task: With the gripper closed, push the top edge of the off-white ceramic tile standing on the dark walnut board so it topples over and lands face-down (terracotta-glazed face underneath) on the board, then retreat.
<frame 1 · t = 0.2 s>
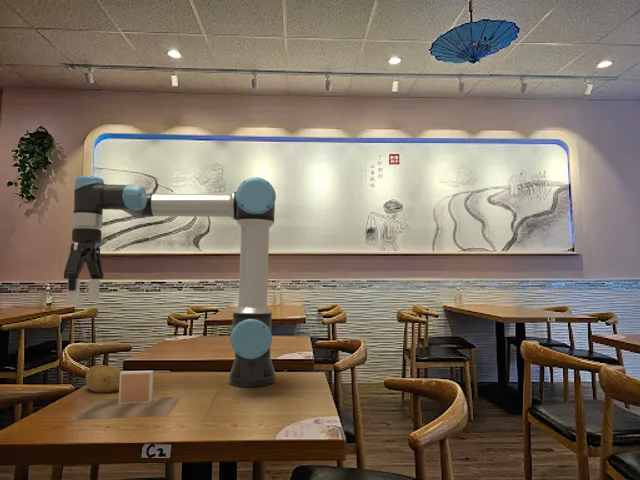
hand: (83, 301, 117), 27 cm above the table, fingers open, 13 cm apart
potato: (105, 394, 121), on the table
tile: (135, 402, 108), point 1 cm above the table, touching board
board: (130, 412, 104), on the table
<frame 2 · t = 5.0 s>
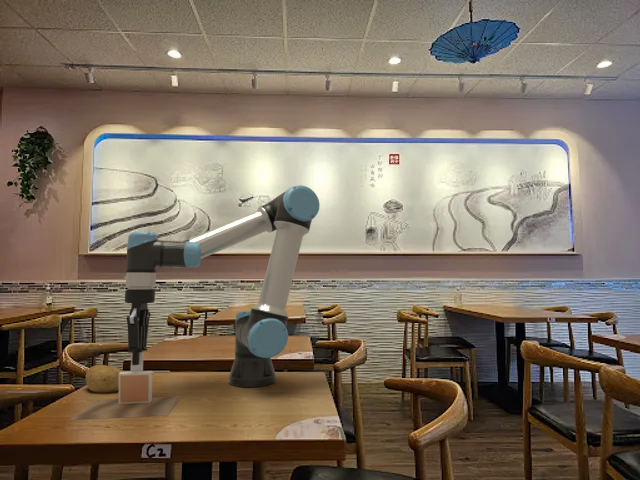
hand: (136, 376, 109), 8 cm above the table, fingers closed
tile: (135, 402, 108), point 1 cm above the table, tilted 7°, touching board, gripper
everything else where it was.
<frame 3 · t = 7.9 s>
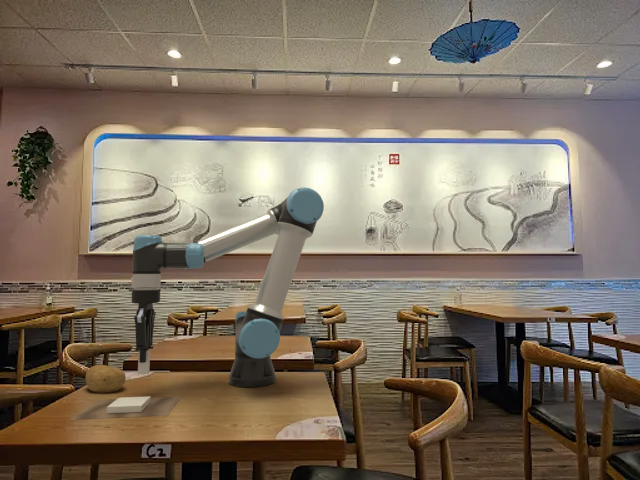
hand: (143, 373, 114), 7 cm above the table, fingers closed
tile: (134, 399, 107), point 2 cm above the table, tilted 90°, touching board
everything else where it was.
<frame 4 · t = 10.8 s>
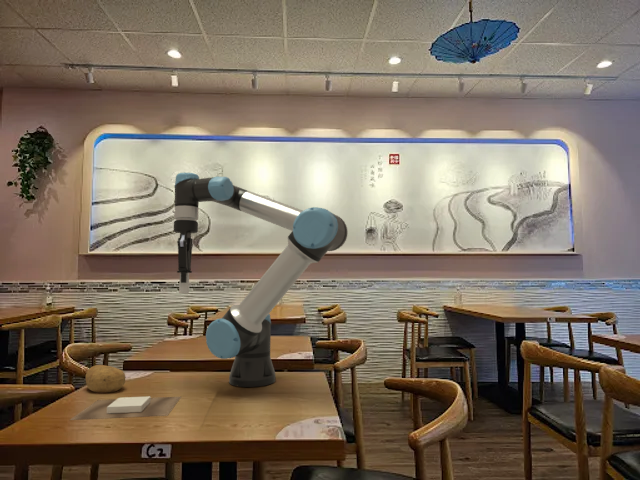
hand: (183, 293, 130), 29 cm above the table, fingers closed
nothing on the table moved.
at the end: tile tilted 90°; tile point 2.1 cm above the table; tile inside the target area on the board (3.1 cm from its centre), point 2.1 cm above the board's base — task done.
